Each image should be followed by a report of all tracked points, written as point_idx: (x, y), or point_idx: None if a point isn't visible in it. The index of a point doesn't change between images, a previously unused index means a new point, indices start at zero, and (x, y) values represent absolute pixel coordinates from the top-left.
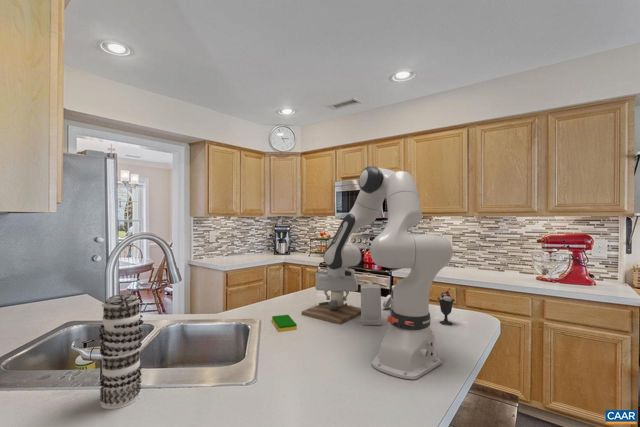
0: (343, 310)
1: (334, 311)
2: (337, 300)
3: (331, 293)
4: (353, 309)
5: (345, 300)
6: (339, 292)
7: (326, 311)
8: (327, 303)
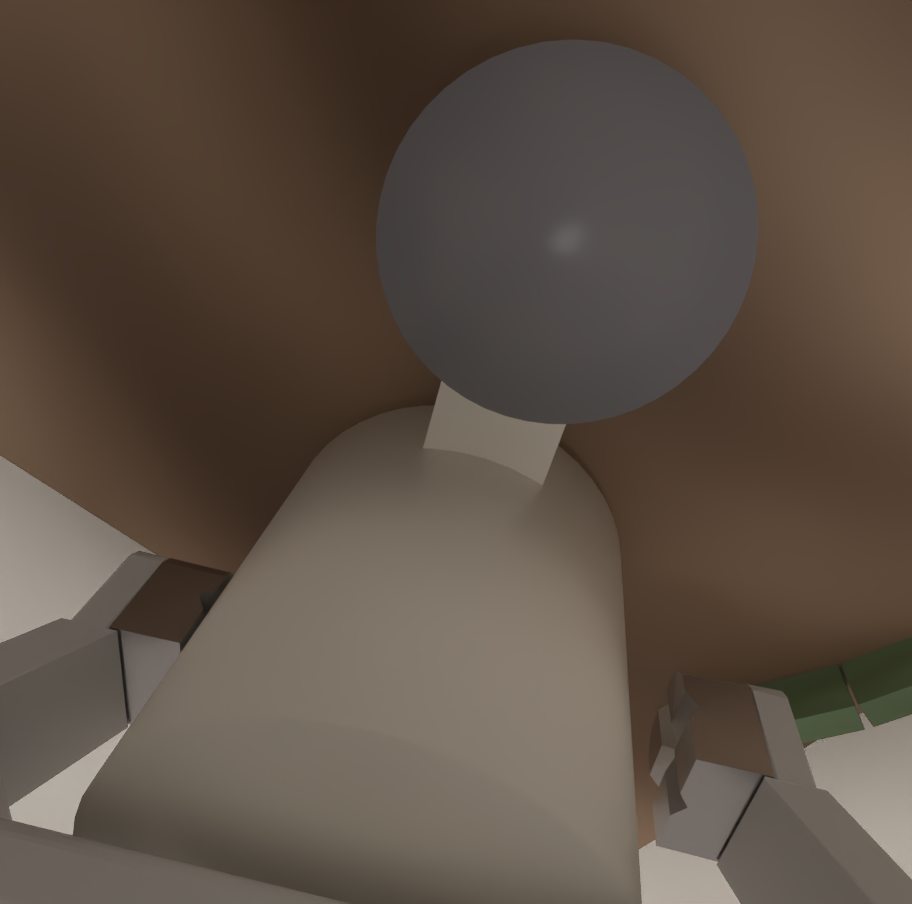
0: (275, 155)
1: (562, 27)
2: (406, 508)
3: (628, 836)
4: (24, 261)
5: (160, 556)
6: (232, 802)
7: (858, 14)
8: None
